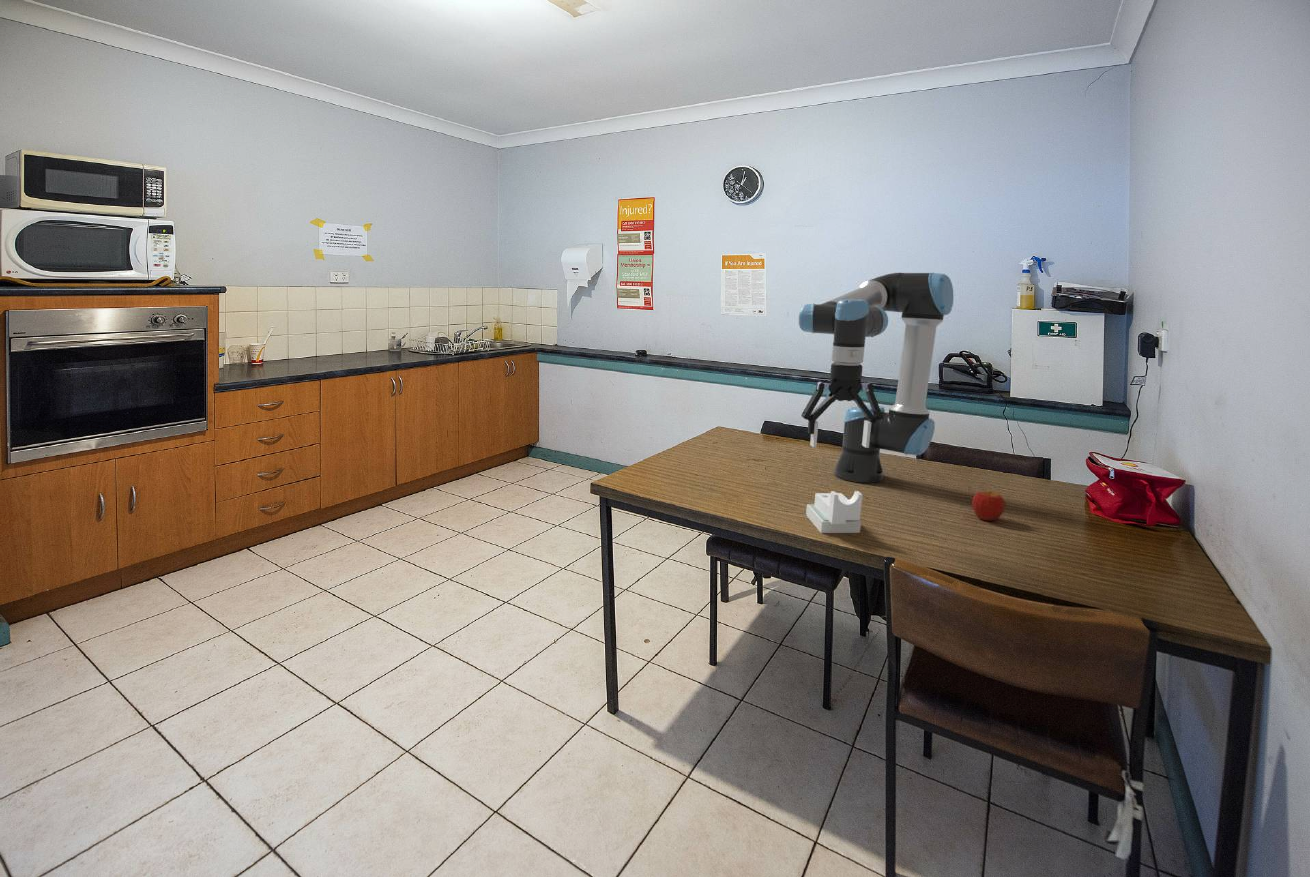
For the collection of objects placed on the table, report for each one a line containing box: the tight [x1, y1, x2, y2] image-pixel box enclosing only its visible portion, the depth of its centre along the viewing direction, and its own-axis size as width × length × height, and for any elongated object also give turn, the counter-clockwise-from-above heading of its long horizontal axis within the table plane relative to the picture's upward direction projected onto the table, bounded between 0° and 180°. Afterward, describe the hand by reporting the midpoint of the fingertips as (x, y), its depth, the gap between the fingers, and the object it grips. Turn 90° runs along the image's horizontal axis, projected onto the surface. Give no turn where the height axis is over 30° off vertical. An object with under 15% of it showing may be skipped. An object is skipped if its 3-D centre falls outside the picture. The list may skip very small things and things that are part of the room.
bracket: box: [813, 490, 863, 524], centre depth 168 cm, size 13×7×8 cm, turn 6°
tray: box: [805, 503, 862, 534], centre depth 172 cm, size 10×13×3 cm
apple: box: [971, 491, 1006, 521], centre depth 178 cm, size 8×8×8 cm
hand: (839, 446), depth 167 cm, fingers open, 13 cm apart
